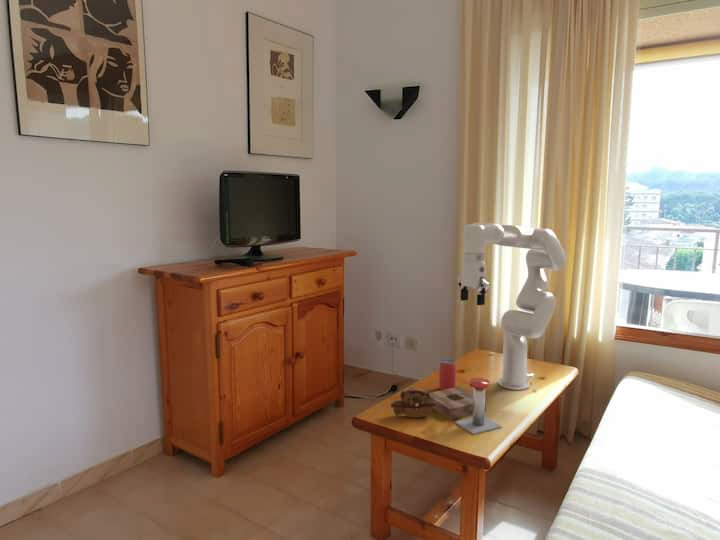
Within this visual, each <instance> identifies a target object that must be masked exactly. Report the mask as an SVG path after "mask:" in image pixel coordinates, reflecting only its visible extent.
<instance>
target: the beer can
mask: <svg viewBox="0 0 720 540" xmlns="http://www.w3.org/2000/svg"><path fill="white" fill-rule="evenodd" d="M438 373H439V375H438V377H439V378H438V389H439V391H441V390H446V389H451V388H456V384H457V383H456V380H457V378H456V377H457V366H456V361H455V360H453V359H448V358H447V359H446V358H445V359H441V360H440V364H439V371H438Z"/></svg>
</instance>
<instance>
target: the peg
mask: <svg viewBox="0 0 720 540" xmlns="http://www.w3.org/2000/svg"><path fill="white" fill-rule="evenodd" d="M468 382H469V383H468V385H469V386H470V387H472V390H473V391H472V394H473V415H472V417H471V418H472V424H473V425H475V426H483V425H484V416H485V415H486V414H485V401H486V389H488V388H489V387H490V386H491V385H490V384H491V382H490V380H489V379H487V378H484V377H483V378H482V377H474V378H470V379H469V381H468ZM485 417H486V416H485Z"/></svg>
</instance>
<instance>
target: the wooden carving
mask: <svg viewBox="0 0 720 540" xmlns="http://www.w3.org/2000/svg"><path fill="white" fill-rule="evenodd" d="M429 393H430V392H429V391H428V390H423V389H420V388H414V387H413V388H409V389H406V390H401V393H400V398H401V400H400V399H399V400H397V399H396V400H394V401H391V403H390V407H391V408H392V410H393V413H394V415H395V416H400V415H404V416H406V417H409V418H413V419H414V418H415V419H417V418H422V417H424V416H427V415H429V414H431V413H433V409H432V408H431V407H430V406H436V405H437V404H436V402H430V401H429V399H430V395H429Z"/></svg>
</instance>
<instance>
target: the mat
mask: <svg viewBox="0 0 720 540" xmlns="http://www.w3.org/2000/svg"><path fill="white" fill-rule="evenodd" d="M454 423H455V425H457V426H459V427H460V428H462V429H463V430H465V431H467V432H468V433H470V434H471V435H473V436H475V435H479V434H483V433H486V432H491V431H494V429H495V430H498V428H499V429H502V428H503V427H502V425H501V424H499V423H497V422H496V421H494V420H492V419H490V418H489V417H487V416H484V425H483V426H475V425H473V424H472V417H469V418H465V419H464V418H463V419H460V420H456V421H454ZM501 427H502V428H501Z"/></svg>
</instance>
